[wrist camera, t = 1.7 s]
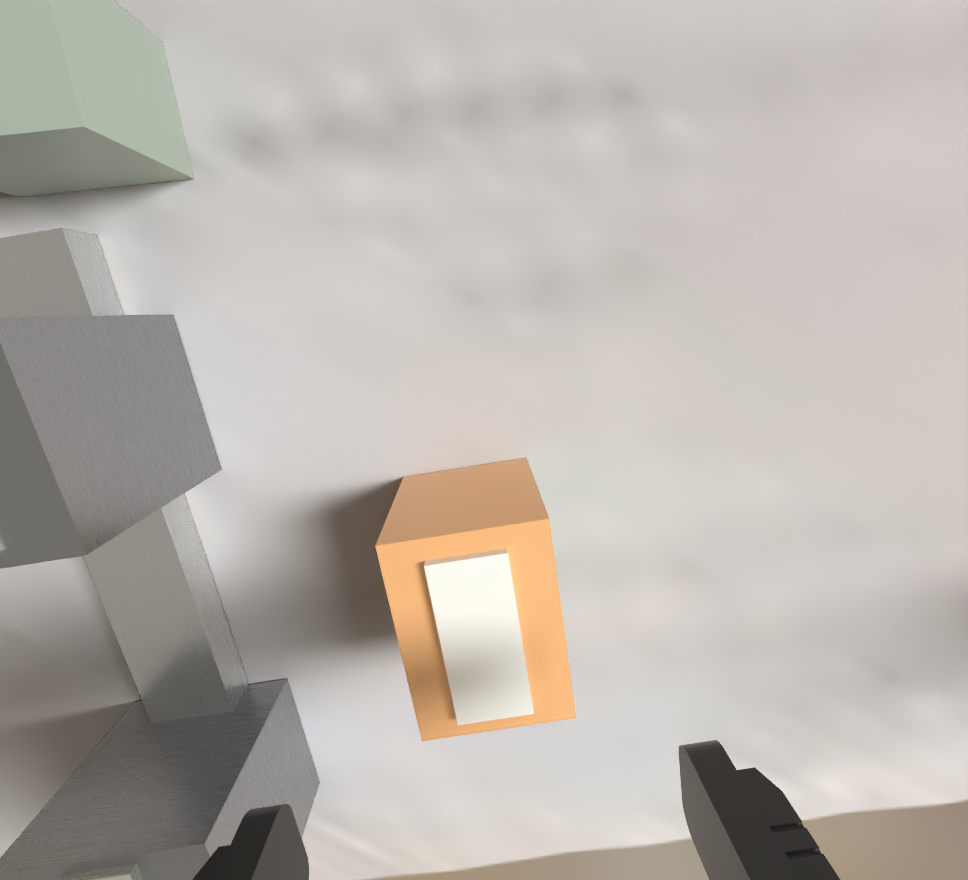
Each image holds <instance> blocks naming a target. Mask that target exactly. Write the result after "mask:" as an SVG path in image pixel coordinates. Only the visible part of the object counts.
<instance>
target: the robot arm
mask: <svg viewBox="0 0 968 880" xmlns="http://www.w3.org/2000/svg"><path fill="white" fill-rule="evenodd" d="M679 762H680V775H681V788H682V801H683V808H684V813H685V817H686V821H687V824H688V828H689V831H690V834H691V837H692V839H693V842H694V844H695V847H696V849H697V851H698V854H699V856H700V858H701V861H702V863H703V865H704V868H705V870H706V872H707V875H708V877H709V880H840V879H839V877H838V876H837V874H836V873H835V871H834V870H833V868H832V867H831V865H830V864H829V862H828V860H827V859H826V857H825V856H824V854H821V852H820V850H819V847H818V846H817V844H816V842H815V841H814V839H813V838H812V836H811V835H810V833H809V832H808V830H807V829H806V828H804V826H803V824H802V821H801V819H800V818H799V816H798V815H797V813H796V812H795V810H794V809H793V807H792V806H791V804H790V803H789V801H788V800H787V798H786V797H785V795H784V794H783V792H782V791H781V790H780V789H779V788H778V787H777V786H775V785H774V784H773V783H772V782H771V781H770V780H768V779H767V778H766V777H765V776H764V775H763V774H762V773H760V772H759V771H758V770H757V769H756V768H749V769H742V770H736V768H735V767H734V765H733V763H732V762H731V760H730V758H729V757H728V755H727V753H726V751H725V750H724V748H723V747H722V745H721V744H720V743H719V742H718V741H717V740H714V741H707V742H701V743H694V744H687V745H681V746H679ZM193 880H309V863H308V857H307V854H306V851H305V848H304V845H303V842H302V839H301V835H300V832H299V829H298V826H297V823H296V820H295V817H294V814H293V811H292V809H291V807H290V805H288V804H281V805H275V806H268V807H262V808H255V809H250V810H249V811H248V812H247V813H246V814H245V815H244V817H243V819H242V820H241V823H240V825H239V827H238V829H237V831H236V834H235V836H234V838H233V840H232V842H231V844H230V845H226V846H220V847H218V848H217V849H216V851H215V852H214V853H213V854H212V856H211V857H210V858H209V859H208V861H207V862H206V863H205V864H204V866H203V867H202V868H201V869H200V871H199V872H198V873H197V874H196V876H195V877H194V878H193Z"/></svg>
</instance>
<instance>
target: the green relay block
mask: <svg viewBox="0 0 968 880" xmlns="http://www.w3.org/2000/svg"><path fill="white" fill-rule="evenodd" d="M187 179H194V175H193V170H192V166H191V162H190V157H189V153H188V149H187V144H186V140H185V136H184V131H183V127H182V123H181V119H180V114H179V110H178V106H177V101H176V97H175V93H174V88H173V84H172V80H171V75H170V71H169V67H168V62H167V58H166V54H165V49H164V45H163V42H162V41H161V40H160V39H159V38H158V37H157V36H156V35H154V34H153V33H152V32H151V31H150V30H149V29H147V28H146V27H145V26H144V25H143V24H142V23H141V22H139V21H138V20H137V19H136V18H135V17H134V16H133V15H131V14H130V13H129V12H128V11H127V10H126V9H124V8H123V7H122V6H121V5H120V4H119V3H118V2H116V1H115V0H0V192H2V193H6V194H10V195H14V196H18V197H26V196H36V195H45V194H55V193H64V192H74V191H83V190H93V189H102V188H111V187H121V186H130V185H140V184H149V183H159V182H168V181H178V180H187Z"/></svg>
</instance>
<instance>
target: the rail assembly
mask: <svg viewBox="0 0 968 880" xmlns="http://www.w3.org/2000/svg"><path fill="white" fill-rule="evenodd" d="M220 470H221V466H220V463H219V460H218V456H217V453H216V450H215V447H214V444H213V440H212V437H211V434H210V431H209V428H208V424H207V421H206V418H205V415H204V412H203V408H202V405H201V402H200V399H199V396H198V393H197V389H196V386H195V383H194V380H193V377H192V373H191V370H190V367H189V364H188V361H187V357H186V354H185V351H184V348H183V345H182V341H181V338H180V335H179V332H178V329H177V325H176V322H175V319H174V316H173V315H124V314H123V311H122V308H121V306H120V303H119V300H118V297H117V294H116V291H115V288H114V285H113V282H112V279H111V276H110V273H109V270H108V267H107V264H106V261H105V258H104V255H103V252H102V249H101V246H100V243H99V241H98V238H97V235H94V234H89V233H84V232H79V231H74V230H69V229H64V228H59V229H53V230H47V231H41V232H35V233H29V234H23V235H17V236H11V237H5V238H0V569H1V568H7V567H14V566H20V565H26V564H33V563H39V562H45V561H52V560H58V559H64V558H71V557H77V556H83V558H84V560H85V563H86V565H87V568H88V570H89V573H90V575H91V577H92V580H93V582H94V585H95V587H96V590H97V592H98V594H99V597H100V599H101V602H102V604H103V607H104V609H105V611H106V614H107V616H108V619H109V621H110V624H111V626H112V629H113V631H114V633H115V636H116V638H117V641H118V643H119V646H120V648H121V650H122V653H123V655H124V658H125V660H126V663H127V665H128V667H129V670H130V672H131V675H132V677H133V680H134V682H135V685H136V687H137V689H138V692H139V694H140V697H141V699H142V701H138V702H134V703H133V704H132V706H131V707H130V708H129V709H128V710H127V711H126V713H125V714H124V715H123V716H122V717H121V718H120V720H119V721H118V722H117V723H116V724H115V725H114V727H113V728H112V729H111V730H110V731H109V732H108V734H107V735H106V736H105V737H104V738H103V739H102V740H101V742H100V743H99V744H98V745H97V746H96V747H95V749H94V750H93V751H92V752H91V753H90V754H89V756H88V757H87V758H86V759H85V760H84V761H83V763H82V764H81V765H80V766H79V767H78V768H77V770H76V771H75V772H74V773H73V774H72V775H71V776H70V778H69V779H68V780H67V781H66V782H65V783H64V785H63V786H62V787H61V788H60V789H59V790H58V792H57V793H56V794H55V795H54V796H53V797H52V799H51V800H50V801H49V802H48V803H47V804H46V806H45V807H44V808H43V809H42V810H41V811H40V813H39V814H38V815H37V816H36V817H35V818H34V819H33V821H32V822H31V823H30V824H29V825H28V826H27V828H26V829H25V830H24V831H23V832H22V833H21V835H20V836H19V837H18V838H17V839H16V840H15V842H14V843H13V844H12V845H11V846H10V847H9V849H8V850H7V851H6V852H5V853H4V854H3V855H2V857H1V858H0V880H193V878H194V877H195V876H196V874H197V873H198V872H199V871H200V869H201V868H202V867H203V866H204V864H205V863H206V862H207V861H208V859H209V858H210V857H211V856H212V854H213V853H214V852H215V851H216V849H217V848H218V847H220V846H226V845H230V844H231V842H232V840H233V838H234V836H235V834H236V831H237V829H238V827H239V825H240V823H241V820H242V819H243V817H244V815H245V814H246V813H247V812H248V811H249V810H250V809H255V808H262V807H268V806H275V805H281V804H288V805H290V807H291V809H292V811H293V814H294V817H295V820H296V823H297V826H298V829H299V832H300V835H301V838H302V835H303V832H304V829H305V826H306V823H307V820H308V817H309V814H310V811H311V807H312V804H313V801H314V798H315V795H316V792H317V789H318V786H319V783H320V782H319V779H318V776H317V773H316V769H315V766H314V763H313V760H312V757H311V754H310V750H309V747H308V744H307V741H306V738H305V734H304V731H303V728H302V725H301V722H300V718H299V715H298V712H297V709H296V706H295V702H294V699H293V696H292V693H291V690H290V686H289V683H288V680H287V679H283V680H276V681H269V682H263V683H256V684H250V685H249V684H248V681H247V678H246V675H245V672H244V669H243V666H242V663H241V660H240V657H239V654H238V651H237V648H236V645H235V642H234V639H233V636H232V633H231V630H230V627H229V624H228V622H227V619H226V616H225V613H224V610H223V607H222V604H221V601H220V598H219V595H218V592H217V589H216V586H215V583H214V580H213V577H212V574H211V571H210V568H209V565H208V562H207V560H206V557H205V554H204V551H203V548H202V545H201V542H200V539H199V536H198V533H197V530H196V527H195V524H194V521H193V518H192V515H191V512H190V509H189V506H188V503H187V500H186V497H185V495H184V493H185V492H187V491H188V490H190V489H191V488H193V487H195V486H196V485H198V484H199V483H201V482H202V481H204V480H206V479H207V478H209V477H210V476H212V475H214V474H215V473H217V472H218V471H220Z"/></svg>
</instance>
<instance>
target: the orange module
mask: <svg viewBox="0 0 968 880" xmlns="http://www.w3.org/2000/svg"><path fill="white" fill-rule="evenodd" d="M375 547H376V551H377V555H378V560H379V564H380V568H381V572H382V576H383V580H384V585H385V589H386V593H387V597H388V601H389V605H390V610H391V614H392V618H393V622H394V626H395V631H396V635H397V639H398V643H399V647H400V651H401V656H402V660H403V664H404V668H405V672H406V676H407V681H408V685H409V689H410V693H411V697H412V701H413V706H414V710H415V714H416V718H417V722H418V726H419V731H420V735H421V739H422V741H426V740H433V739H439V738H446V737H453V736H459V735H466V734H473V733H479V732H486V731H493V730H499V729H506V728H513V727H519V726H526V725H533V724H540V723H546V722H553V721H560V720H566V719H573V718H576V715H575V708H574V700H573V693H572V685H571V678H570V670H569V663H568V656H567V648H566V641H565V633H564V626H563V619H562V611H561V604H560V596H559V589H558V582H557V574H556V567H555V559H554V552H553V544H552V537H551V530H550V522H549V517H548V515H547V512H546V509H545V506H544V504H543V501H542V498H541V496H540V493H539V490H538V488H537V485H536V482H535V479H534V477H533V474H532V471H531V469H530V466H529V463H528V460H527V458H526V457H525V458H519V459H513V460H507V461H500V462H494V463H488V464H482V465H475V466H469V467H463V468H457V469H450V470H444V471H438V472H432V473H425V474H419V475H413V476H407V477H403V479H402V482H401V484H400V487H399V489H398V491H397V494H396V496H395V499H394V501H393V504H392V506H391V509H390V511H389V514H388V516H387V518H386V521H385V523H384V526H383V528H382V531H381V533H380V536H379V538H378V540H377V543H376V545H375Z"/></svg>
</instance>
